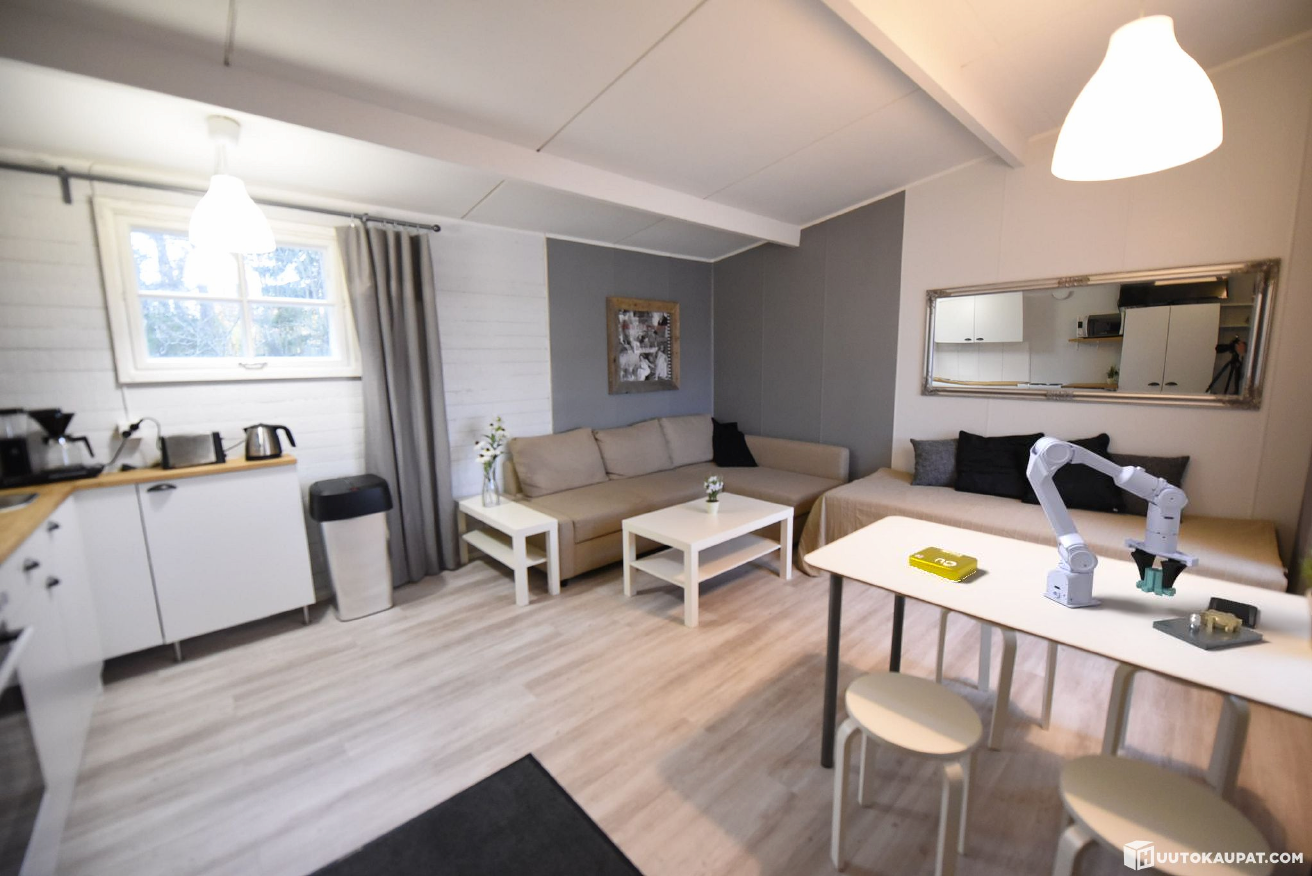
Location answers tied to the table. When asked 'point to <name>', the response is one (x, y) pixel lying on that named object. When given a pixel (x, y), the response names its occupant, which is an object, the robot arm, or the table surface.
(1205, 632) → the carrier
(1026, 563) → the table surface
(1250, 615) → the phone
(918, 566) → the element tile
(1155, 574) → the gear
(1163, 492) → the robot arm
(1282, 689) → the table surface
